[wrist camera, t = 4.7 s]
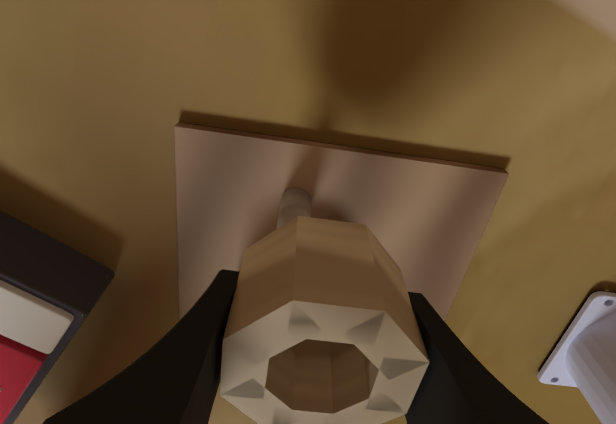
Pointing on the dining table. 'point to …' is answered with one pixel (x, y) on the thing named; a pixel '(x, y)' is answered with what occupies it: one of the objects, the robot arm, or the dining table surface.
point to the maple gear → (321, 329)
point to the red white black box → (39, 307)
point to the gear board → (326, 204)
